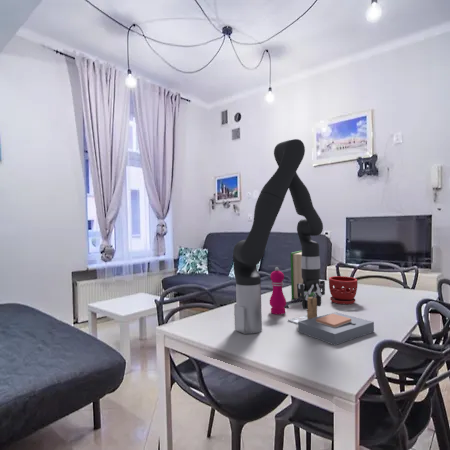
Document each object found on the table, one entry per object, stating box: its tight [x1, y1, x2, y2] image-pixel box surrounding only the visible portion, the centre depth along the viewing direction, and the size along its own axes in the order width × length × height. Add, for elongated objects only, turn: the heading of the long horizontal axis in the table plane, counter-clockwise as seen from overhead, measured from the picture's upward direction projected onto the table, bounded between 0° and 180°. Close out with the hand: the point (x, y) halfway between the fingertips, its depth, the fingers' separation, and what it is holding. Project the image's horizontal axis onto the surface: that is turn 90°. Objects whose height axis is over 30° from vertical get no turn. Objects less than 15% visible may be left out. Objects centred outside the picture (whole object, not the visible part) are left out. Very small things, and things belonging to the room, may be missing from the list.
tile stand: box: [297, 311, 375, 346], centre depth 113 cm, size 21×16×4 cm
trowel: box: [287, 296, 320, 325], centre depth 128 cm, size 14×7×9 cm, turn 122°
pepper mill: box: [269, 266, 287, 315], centre depth 139 cm, size 7×7×20 cm
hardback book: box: [290, 249, 316, 300], centre depth 169 cm, size 18×7×24 cm, turn 148°
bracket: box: [284, 298, 302, 309], centre depth 156 cm, size 14×15×3 cm
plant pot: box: [328, 275, 359, 306], centre depth 154 cm, size 13×13×12 cm
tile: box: [316, 313, 351, 328], centre depth 112 cm, size 9×8×1 cm
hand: (311, 307), depth 129 cm, fingers open, 7 cm apart
